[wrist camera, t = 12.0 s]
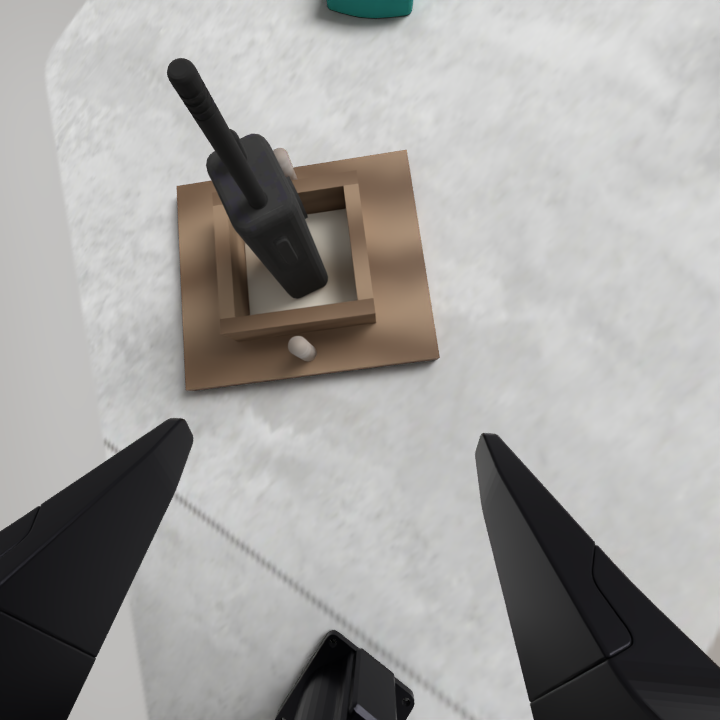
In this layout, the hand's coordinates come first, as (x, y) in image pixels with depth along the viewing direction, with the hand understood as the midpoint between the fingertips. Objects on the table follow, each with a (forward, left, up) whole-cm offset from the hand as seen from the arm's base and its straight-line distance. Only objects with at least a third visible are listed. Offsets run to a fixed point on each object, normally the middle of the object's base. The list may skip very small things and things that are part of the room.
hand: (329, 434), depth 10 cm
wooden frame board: (+7, +10, -13) cm, 18 cm away
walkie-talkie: (+7, +9, -12) cm, 17 cm away
